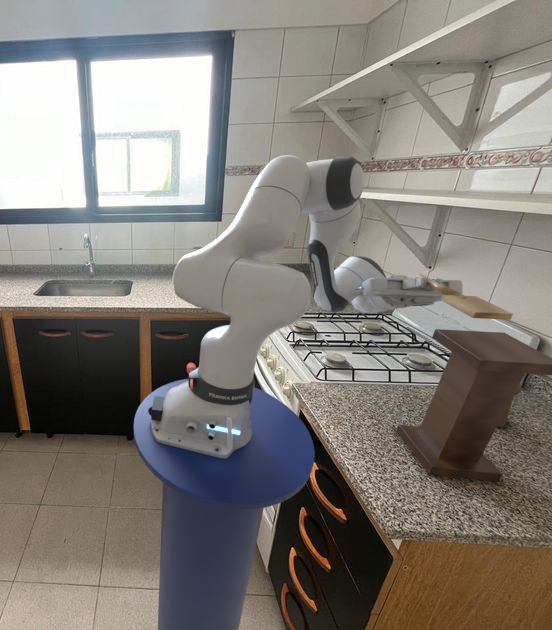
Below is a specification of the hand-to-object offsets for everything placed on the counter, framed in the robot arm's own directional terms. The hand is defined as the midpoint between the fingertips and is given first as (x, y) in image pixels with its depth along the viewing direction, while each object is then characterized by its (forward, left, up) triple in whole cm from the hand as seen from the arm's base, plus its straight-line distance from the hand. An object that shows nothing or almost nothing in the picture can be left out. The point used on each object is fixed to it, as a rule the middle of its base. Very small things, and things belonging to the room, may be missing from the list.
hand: (432, 281), depth 78 cm
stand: (0, -20, -31) cm, 37 cm away
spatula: (0, -6, -1) cm, 7 cm away
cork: (+18, -6, -32) cm, 37 cm away
